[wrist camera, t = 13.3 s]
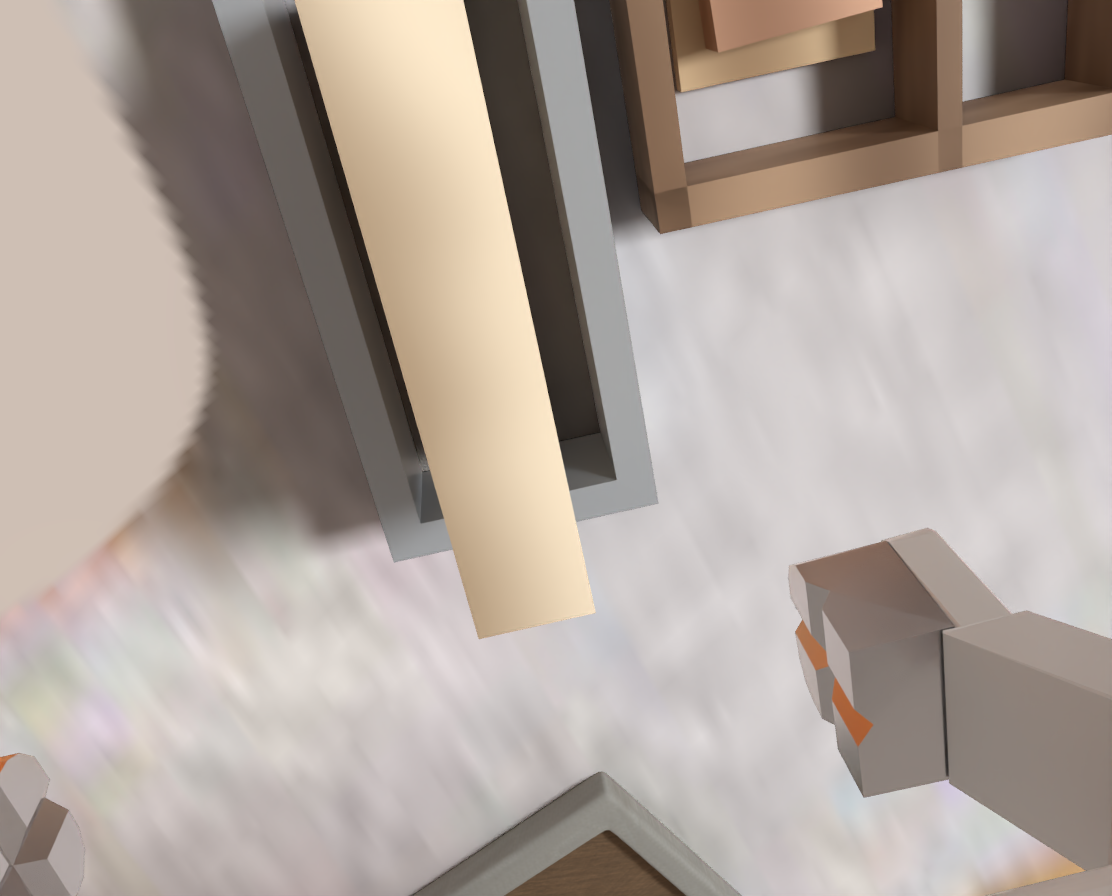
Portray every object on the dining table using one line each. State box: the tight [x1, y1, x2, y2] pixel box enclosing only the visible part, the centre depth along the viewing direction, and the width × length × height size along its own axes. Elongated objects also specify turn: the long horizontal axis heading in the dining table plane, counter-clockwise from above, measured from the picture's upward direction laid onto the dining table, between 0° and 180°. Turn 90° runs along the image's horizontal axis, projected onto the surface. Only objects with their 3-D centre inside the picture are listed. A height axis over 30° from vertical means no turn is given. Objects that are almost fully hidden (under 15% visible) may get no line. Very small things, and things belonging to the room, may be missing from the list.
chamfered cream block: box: [295, 0, 596, 639], centre depth 21 cm, size 2×12×10 cm, turn 11°
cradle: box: [212, 0, 658, 562], centre depth 24 cm, size 7×16×3 cm, turn 11°
